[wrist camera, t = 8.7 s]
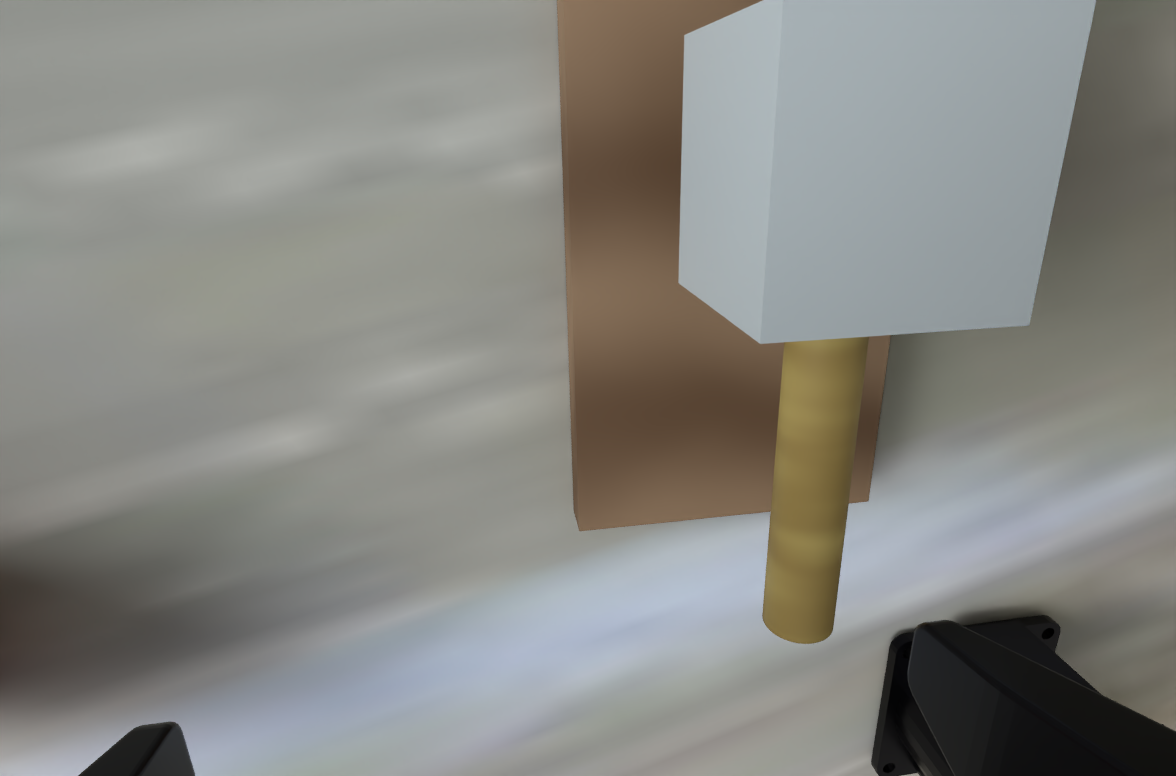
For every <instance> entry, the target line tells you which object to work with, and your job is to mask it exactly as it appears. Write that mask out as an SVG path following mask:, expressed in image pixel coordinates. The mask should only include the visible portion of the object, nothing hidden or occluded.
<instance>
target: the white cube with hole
mask: <svg viewBox="0 0 1176 776" xmlns="http://www.w3.org/2000/svg"><path fill="white" fill-rule="evenodd" d="M1095 4H1096V0H762V1H760V2H758V3H756V4H753V5H751V6H749V7H747V8H744V9H742V10H740V11H738V12H735V13H733V14H731V15H729V16H726V17H724V18H722V19H720V20H717V21H715V22H713V23H710V24H708V25H706V26H704V27H701V28H699V29H697V30H695V31H692V32H690V33H688V34H686V35H684V70H683V112H682V154H681V196H680V238H679V279H678V283H679V284H680V285H682V286H683V287H684V288H686V289H687V290H688V291H690V292H691V293H692V294H694V295H695V296H696V297H698V298H699V299H701V300H702V301H703V302H705V303H706V304H707V305H709V306H710V307H711V308H713V309H714V310H715V311H717V312H718V313H719V314H721V315H722V316H723V317H725V318H726V319H727V320H729V321H730V322H731V323H733V324H734V325H735V326H737V327H738V328H739V329H741V330H742V331H744V332H745V333H746V334H748V335H749V336H750V337H752V338H753V339H754V340H756V341H757V342H758V343H760V344H767V343H781V342H796V341H811V340H825V339H840V338H854V337H869V336H883V335H898V334H912V333H927V332H942V331H956V330H971V329H985V328H1000V327H1014V326H1029V324H1030V319H1031V315H1032V310H1033V305H1034V300H1035V295H1036V290H1037V285H1038V281H1039V276H1040V271H1041V266H1042V261H1043V256H1044V251H1045V247H1046V242H1047V237H1048V232H1049V227H1050V222H1051V217H1052V213H1053V208H1054V203H1055V198H1056V193H1057V188H1058V184H1059V179H1060V174H1061V169H1062V164H1063V159H1064V154H1065V150H1066V145H1067V140H1068V135H1069V130H1070V125H1071V120H1072V116H1073V111H1074V106H1075V101H1076V96H1077V91H1078V87H1079V82H1080V77H1081V72H1082V67H1083V62H1084V57H1085V53H1086V48H1087V43H1088V38H1089V33H1090V28H1091V23H1092V19H1093V14H1094V9H1095Z"/></svg>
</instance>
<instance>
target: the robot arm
mask: <svg viewBox="0 0 1176 776" xmlns="http://www.w3.org/2000/svg"><path fill="white" fill-rule="evenodd" d="M1059 635H1060V626H1059V624H1057V623H1056V622H1055V621H1054V620H1053V619H1051V618H1050V617H1048V616H1045V615H1042V616H1034V617H1026V618H1019V619H1011V620H1004V621H996V622H989V623H981V624H974V625H966V626H961V625H959V624H957V623H955V622H953V621H949V620H941V621H933V622H925V623H922V624H919V625H918V626H917V628H916V629H915V632H913V633H905V634H902V635H899V636H897V637H896V638H895V639H894V640H893V641H892V642H891V645H890V648H889V654H888V661H887V667H886V673H885V679H884V686H883V692H882V698H881V704H880V710H879V717H878V723H877V729H876V735H875V742H874V748H873V754H872V760H871V763H872V766H873V768H874V769H875V771H876V772H877V774H878V775H879V776H901V775H907V774H913V773H918V774H919V775H920V776H1176V731H1174V730H1172V729H1170V728H1168V727H1166V726H1164V725H1163V724H1160V723H1158V722H1156V721H1153V720H1151V719H1149V718H1147V717H1145V716H1143V715H1141V714H1139V713H1137V712H1135V711H1133V710H1131V709H1129V708H1127V707H1125V706H1123V705H1121V704H1119V703H1117V702H1115V701H1113V700H1111V699H1109V698H1107V697H1105V696H1103V695H1101V694H1100V693H1099V692H1098V691H1097V690H1096V689H1095V688H1093V687H1092V686H1091V685H1090V684H1089V683H1088V682H1087V681H1086V680H1085V679H1083V678H1082V677H1081V676H1080V675H1079V674H1078V673H1077V672H1076V671H1074V670H1073V669H1072V668H1071V667H1070V666H1069V665H1068V664H1067V663H1066V662H1064V661H1063V660H1062V659H1061V658H1060V657H1059V656H1058V655H1057V654H1056V653H1055V650H1056V646H1057V642H1058V638H1059ZM78 776H195V773H194V769H193V766H192V762H191V759H190V755H189V752H188V749H187V745H186V742H185V739H184V735H183V732H182V730H181V727H180V726H179V725H178V724H177V723H175V722H164V723H156V724H149V725H142V726H139V727H136V728H134V729H133V730H131V731H130V732H129V733H128V734H126V735H125V736H124V737H123V738H122V739H121V740H119V741H118V742H117V743H116V744H115V745H114V746H112V747H111V748H110V749H109V750H108V751H106V752H105V753H104V754H103V755H102V756H101V757H99V758H98V759H97V760H96V761H95V762H94V763H92V764H91V765H90V766H89V767H88V768H87V769H85V770H84V771H83V772H82V773H81V774H80V775H78Z"/></svg>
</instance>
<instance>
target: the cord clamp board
mask: <svg viewBox="0 0 1176 776" xmlns="http://www.w3.org/2000/svg"><path fill="white" fill-rule="evenodd" d="M760 1H762V0H557V14H558V44H559V75H560V105H561V136H562V166H563V196H564V227H565V257H566V287H567V318H568V348H569V379H570V409H571V439H572V470H573V500H574V513H575V517H576V520H577V524H578V528H579V531H586V530H596V529H606V528H615V527H625V526H635V525H644V524H654V523H664V522H673V521H683V520H693V519H702V518H712V517H722V516H731V515H741V514H751V513H760V512H770V511H771V515H770V528H769V540H768V553H767V565H766V578H765V590H764V603H763V615H762V616H763V621H764V623H765V625H766V626H767V628H768V629H769V630H770V631H771V632H773V633H774V634H775V635H777V636H779V637H780V638H783V639H785V640H788V641H791V642H795V643H802V644H810V643H817V642H820V641H823V640H825V639H826V638H828V637H829V636H830V634H831V633H832V631H833V625H834V617H835V608H836V600H837V592H838V584H839V576H840V568H841V560H842V552H843V544H844V536H845V528H846V520H847V512H848V504H849V503H857V502H867V501H868V500H869V493H870V485H871V478H872V470H873V463H874V456H875V448H876V441H877V433H878V426H879V419H880V411H881V404H882V396H883V389H884V382H885V374H886V367H887V359H888V352H889V345H890V337H891V335H883V336H869V337H854V338H840V339H825V340H811V341H796V342H781V343H767V344H760V343H758V342H757V341H756V340H754V339H753V338H752V337H750V336H749V335H748V334H746V333H745V332H744V331H742V330H741V329H739V328H738V327H737V326H735V325H734V324H733V323H731V322H730V321H729V320H727V319H726V318H725V317H723V316H722V315H721V314H719V313H718V312H717V311H715V310H714V309H713V308H711V307H710V306H709V305H707V304H706V303H705V302H703V301H702V300H701V299H699V298H698V297H696V296H695V295H694V294H692V293H691V292H690V291H688V290H687V289H686V288H684V287H683V286H682V285H680V284H679V283H678V279H679V238H680V196H681V154H682V112H683V70H684V35H686V34H688V33H690V32H692V31H695V30H697V29H699V28H701V27H704V26H706V25H708V24H710V23H713V22H715V21H717V20H720V19H722V18H724V17H726V16H729V15H731V14H733V13H735V12H738V11H740V10H742V9H744V8H747V7H749V6H751V5H753V4H756V3H758V2H760Z"/></svg>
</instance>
